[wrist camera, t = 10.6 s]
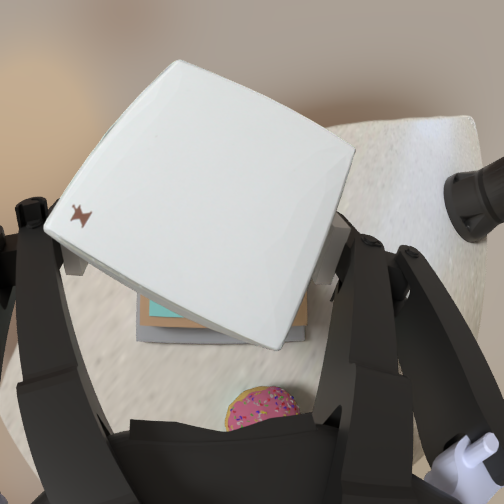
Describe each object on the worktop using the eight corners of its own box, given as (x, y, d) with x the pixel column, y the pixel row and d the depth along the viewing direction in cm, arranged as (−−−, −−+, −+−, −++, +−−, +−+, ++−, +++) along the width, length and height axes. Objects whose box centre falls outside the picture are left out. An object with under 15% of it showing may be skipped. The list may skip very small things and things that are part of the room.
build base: (297, 233, 39) (315, 220, 33) (299, 339, 36) (320, 343, 30) (143, 224, 34) (137, 208, 29) (138, 339, 31) (129, 344, 26)
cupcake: (253, 365, 34) (288, 387, 23) (299, 404, 34) (345, 434, 23) (206, 413, 31) (218, 455, 20) (254, 449, 31) (285, 495, 20)
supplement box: (218, 334, 19) (280, 366, 7) (120, 281, 18) (30, 226, 6) (264, 239, 21) (364, 147, 9) (173, 190, 20) (174, 51, 8)
